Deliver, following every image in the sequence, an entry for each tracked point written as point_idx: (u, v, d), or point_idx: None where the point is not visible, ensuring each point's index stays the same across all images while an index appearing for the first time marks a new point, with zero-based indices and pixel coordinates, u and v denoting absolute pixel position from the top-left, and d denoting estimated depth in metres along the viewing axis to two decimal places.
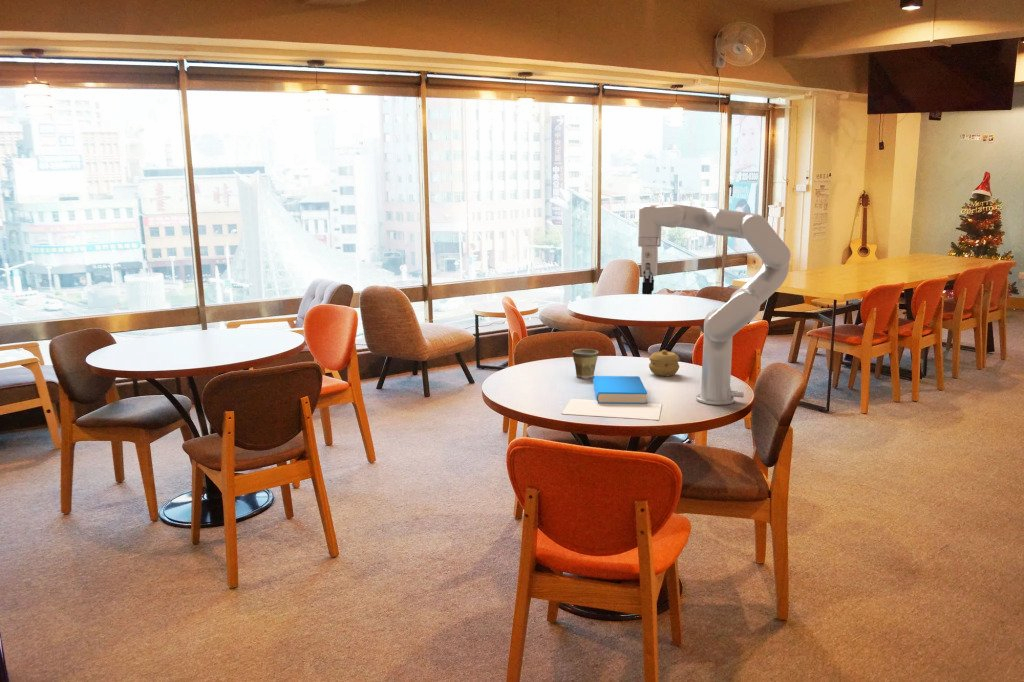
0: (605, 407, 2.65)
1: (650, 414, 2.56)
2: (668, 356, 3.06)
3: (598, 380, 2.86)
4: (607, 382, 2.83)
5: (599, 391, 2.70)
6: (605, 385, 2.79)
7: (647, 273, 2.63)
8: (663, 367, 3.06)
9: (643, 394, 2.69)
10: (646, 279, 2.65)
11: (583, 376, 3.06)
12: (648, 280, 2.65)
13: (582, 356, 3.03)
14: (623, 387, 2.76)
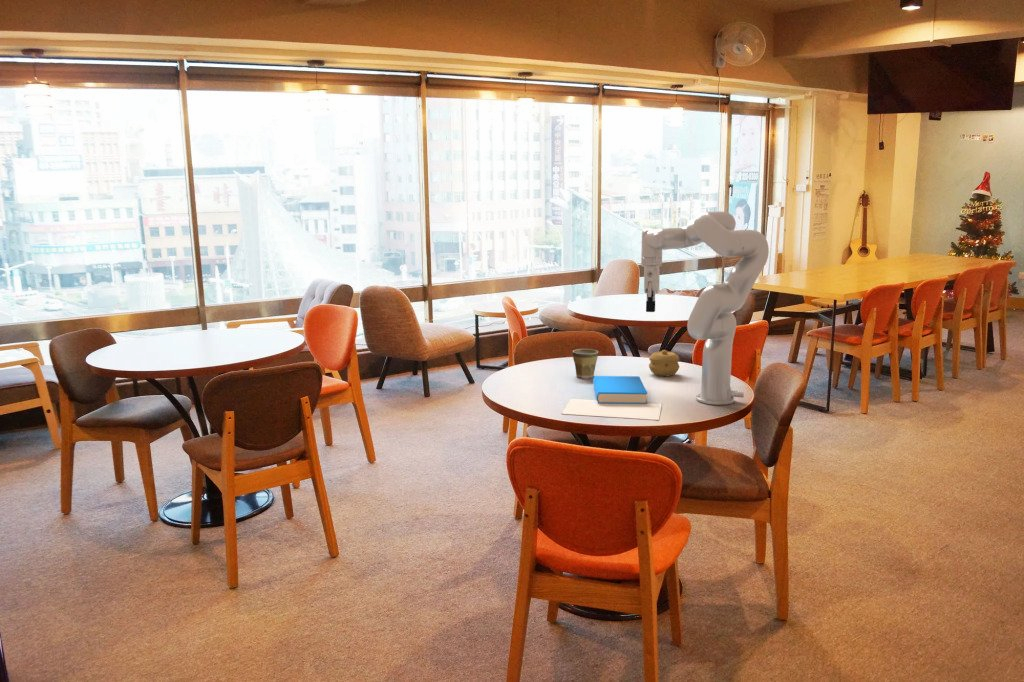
0: (605, 407, 2.65)
1: (650, 414, 2.56)
2: (668, 356, 3.06)
3: (598, 380, 2.86)
4: (607, 382, 2.83)
5: (599, 391, 2.70)
6: (605, 385, 2.79)
7: (650, 297, 2.91)
8: (663, 367, 3.06)
9: (643, 394, 2.69)
10: (649, 298, 2.93)
11: (583, 376, 3.06)
12: (651, 299, 2.93)
13: (582, 356, 3.03)
14: (623, 387, 2.76)
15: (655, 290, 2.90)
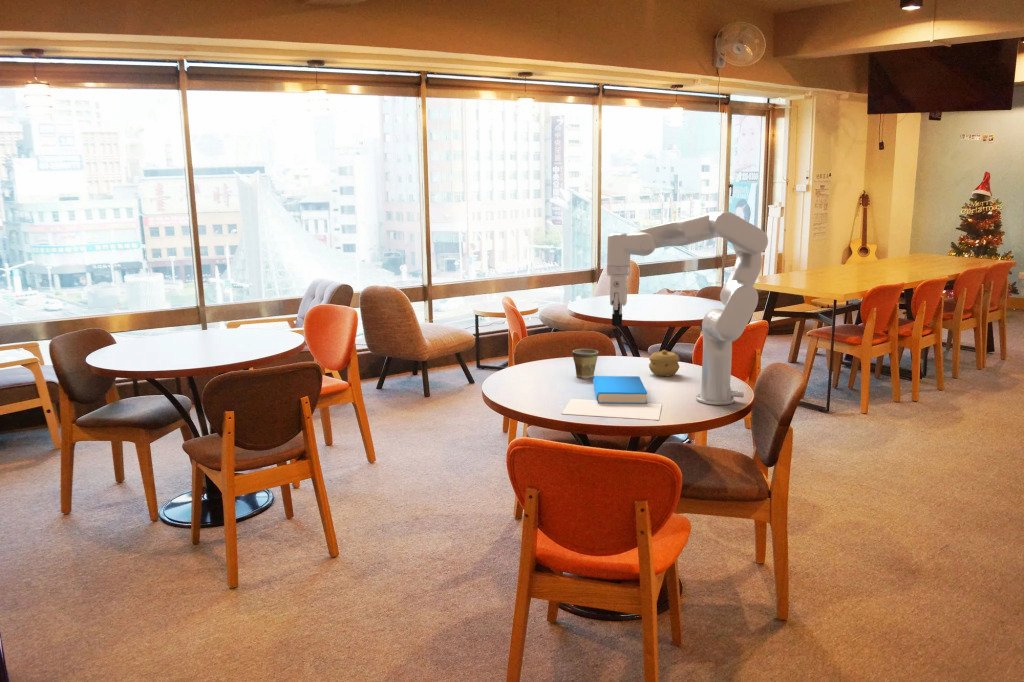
0: (605, 407, 2.65)
1: (650, 414, 2.56)
2: (668, 356, 3.06)
3: (598, 380, 2.86)
4: (607, 382, 2.83)
5: (599, 391, 2.70)
6: (605, 385, 2.79)
7: (616, 310, 2.60)
8: (663, 367, 3.06)
9: (643, 394, 2.69)
10: (616, 311, 2.62)
11: (583, 376, 3.06)
12: (618, 312, 2.63)
13: (582, 356, 3.03)
14: (623, 387, 2.76)
15: (622, 302, 2.59)
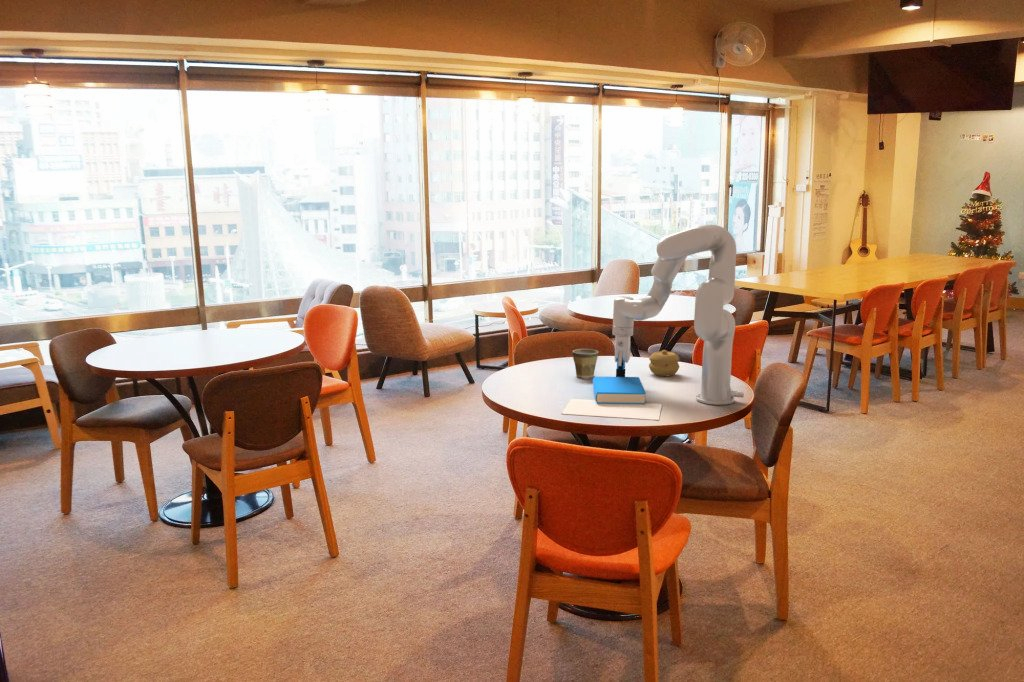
0: (605, 407, 2.65)
1: (650, 414, 2.56)
2: (668, 356, 3.06)
3: (597, 380, 2.86)
4: (606, 382, 2.83)
5: (598, 391, 2.70)
6: (604, 385, 2.78)
7: (620, 366, 2.89)
8: (663, 367, 3.06)
9: (642, 394, 2.68)
10: (619, 367, 2.91)
11: (583, 376, 3.06)
12: (621, 368, 2.91)
13: (582, 356, 3.03)
14: (622, 387, 2.75)
15: (625, 360, 2.88)
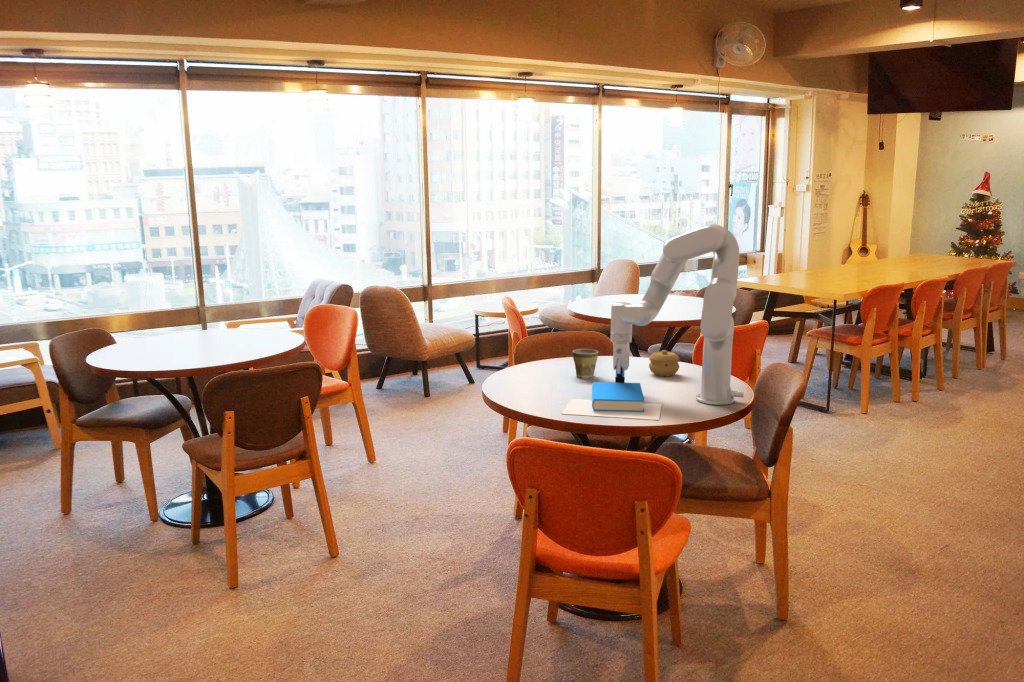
0: None
1: (650, 414, 2.56)
2: (668, 356, 3.06)
3: (596, 386, 2.77)
4: (605, 388, 2.74)
5: (595, 398, 2.61)
6: (602, 392, 2.69)
7: (619, 374, 2.80)
8: (663, 367, 3.06)
9: (640, 401, 2.59)
10: (618, 375, 2.82)
11: (583, 376, 3.06)
12: (620, 376, 2.83)
13: (582, 356, 3.03)
14: (620, 394, 2.66)
15: (624, 367, 2.79)
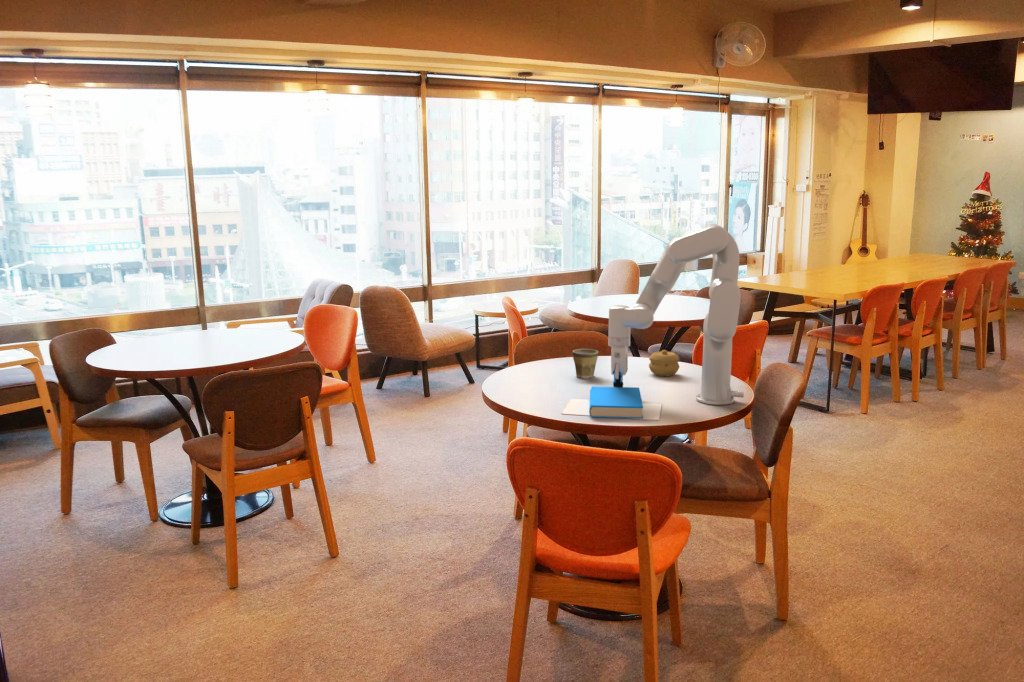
0: None
1: (650, 414, 2.56)
2: (668, 356, 3.06)
3: (594, 391, 2.70)
4: (603, 394, 2.67)
5: (592, 404, 2.54)
6: (600, 397, 2.62)
7: (617, 379, 2.73)
8: (663, 367, 3.06)
9: (639, 408, 2.52)
10: (616, 380, 2.75)
11: (583, 376, 3.06)
12: (618, 380, 2.76)
13: (582, 356, 3.03)
14: (619, 400, 2.59)
15: (623, 372, 2.72)
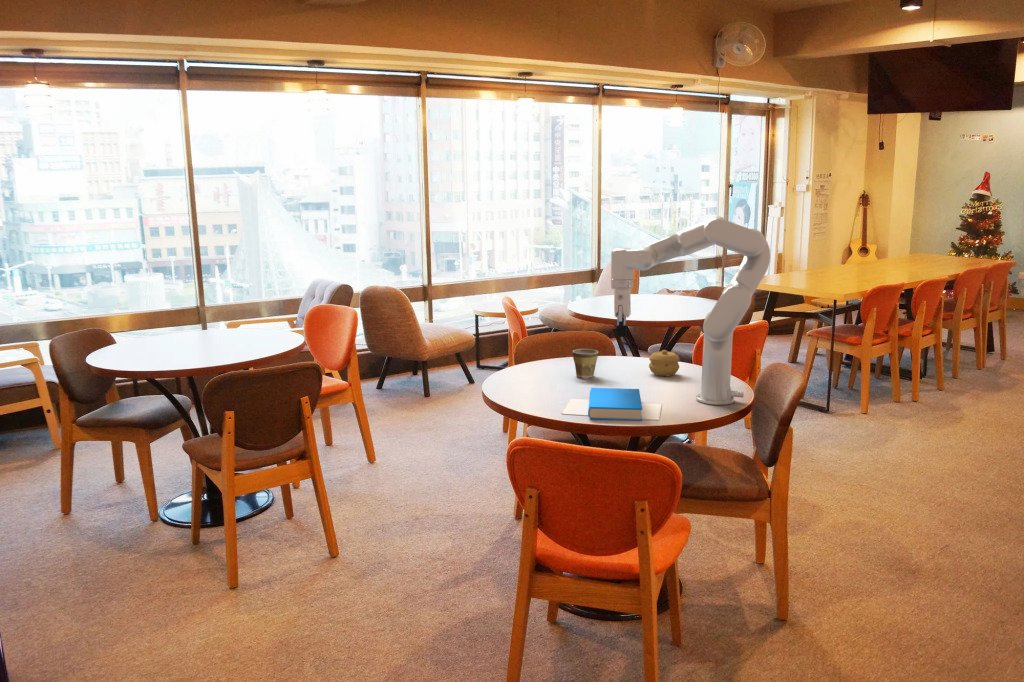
0: None
1: (650, 414, 2.56)
2: (668, 356, 3.06)
3: (593, 393, 2.68)
4: (602, 395, 2.65)
5: (591, 405, 2.52)
6: (599, 399, 2.61)
7: (620, 321, 2.74)
8: (663, 367, 3.06)
9: (638, 410, 2.50)
10: (620, 322, 2.76)
11: (583, 376, 3.06)
12: (622, 323, 2.76)
13: (582, 356, 3.03)
14: (618, 401, 2.57)
15: (626, 314, 2.72)
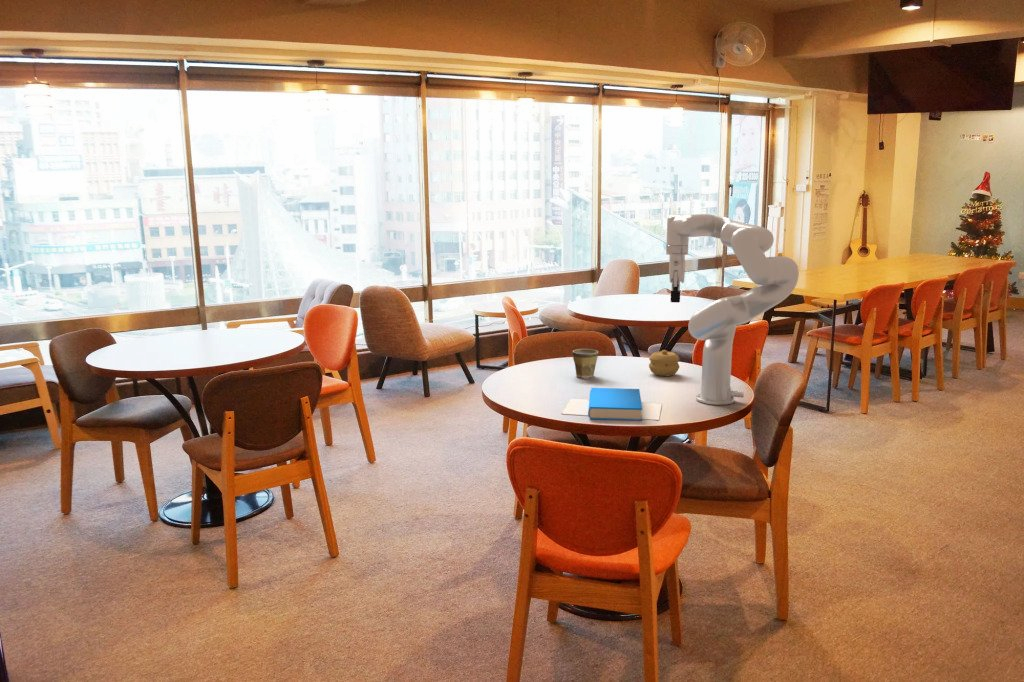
0: None
1: (650, 414, 2.56)
2: (668, 356, 3.06)
3: (594, 393, 2.68)
4: (603, 395, 2.65)
5: (591, 406, 2.52)
6: (599, 399, 2.61)
7: (675, 286, 2.78)
8: (663, 367, 3.06)
9: (638, 410, 2.50)
10: (674, 288, 2.80)
11: (583, 376, 3.06)
12: (676, 289, 2.80)
13: (582, 356, 3.03)
14: (618, 401, 2.57)
15: (681, 279, 2.76)
